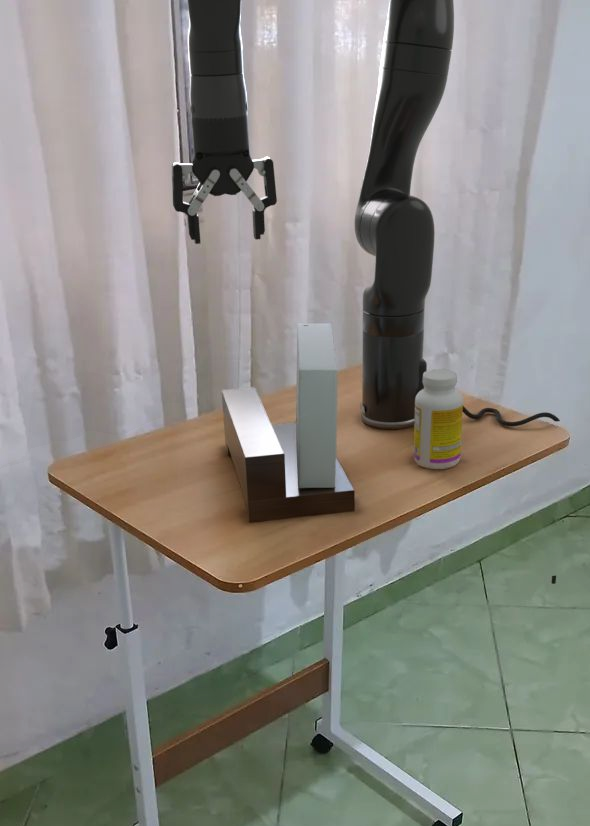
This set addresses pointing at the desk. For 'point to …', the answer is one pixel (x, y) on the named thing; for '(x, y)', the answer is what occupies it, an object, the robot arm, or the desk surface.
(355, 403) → the desk surface
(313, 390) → the skincare box
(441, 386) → the supplement bottle
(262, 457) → the metal step block
